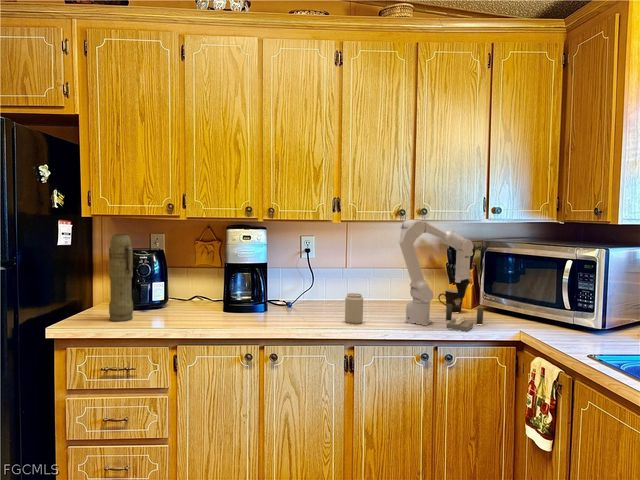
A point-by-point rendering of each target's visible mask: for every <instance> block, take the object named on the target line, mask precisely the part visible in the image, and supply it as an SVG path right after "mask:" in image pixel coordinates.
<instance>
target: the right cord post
mask: <svg viewBox="0 0 640 480" xmlns="http://www.w3.org/2000/svg"><path fill="white" fill-rule="evenodd" d="M476 311H477V313H476V325H477V324H483V322H484V308H482V307H477V309H476ZM483 325H484V324H483Z"/></svg>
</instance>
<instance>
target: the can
mask: <svg viewBox="0 0 640 480" xmlns="http://www.w3.org/2000/svg"><path fill="white" fill-rule="evenodd" d="M362 295H363V294H362V293H358V292H357V293H356V292H355V293H354V292H353V293H351V292H350V293H347V294H346V297H345V299H344V300H345V301H344V321H345V322H346V323H347V324H350V325H351V324H352V325H360V324H361V323H362V322H363V320H364V319H363V318H364V298H363V296H362Z"/></svg>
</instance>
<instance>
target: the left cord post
mask: <svg viewBox="0 0 640 480" xmlns="http://www.w3.org/2000/svg"><path fill="white" fill-rule="evenodd" d="M445 307H446V308H445V309H446V310H445V320H446V319H447V320H453V319H452V317H453V313H452V304H447V305H446V306H445ZM447 320H446V321H447Z"/></svg>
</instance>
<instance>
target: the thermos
mask: <svg viewBox="0 0 640 480" xmlns="http://www.w3.org/2000/svg"><path fill="white" fill-rule="evenodd" d="M133 251H134V249H133V247H132V240H131V238H130V235H128V233H127V234H125V233H115V234H113V235H112V236H111V239H110V246H109V248H108V253H109V254H108V255H109V256H108V257H109V258H108V259H109V260H108V261H109V263H108V277H109V281H110V288H109V289H110V301H109V304H108V314H109V321H110V322H114V323H120V322H121V323H122V322H129V321H132V320H133V318H134V317H133V313H134V301H133V298H132V294H133V293H132V290H133V289H132V280H133V279H132V278H133V277H134V274H133V273H134V271H133V270H134V269H133V268H134V264H133V263H134V257H133V256H134V252H133Z"/></svg>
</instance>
